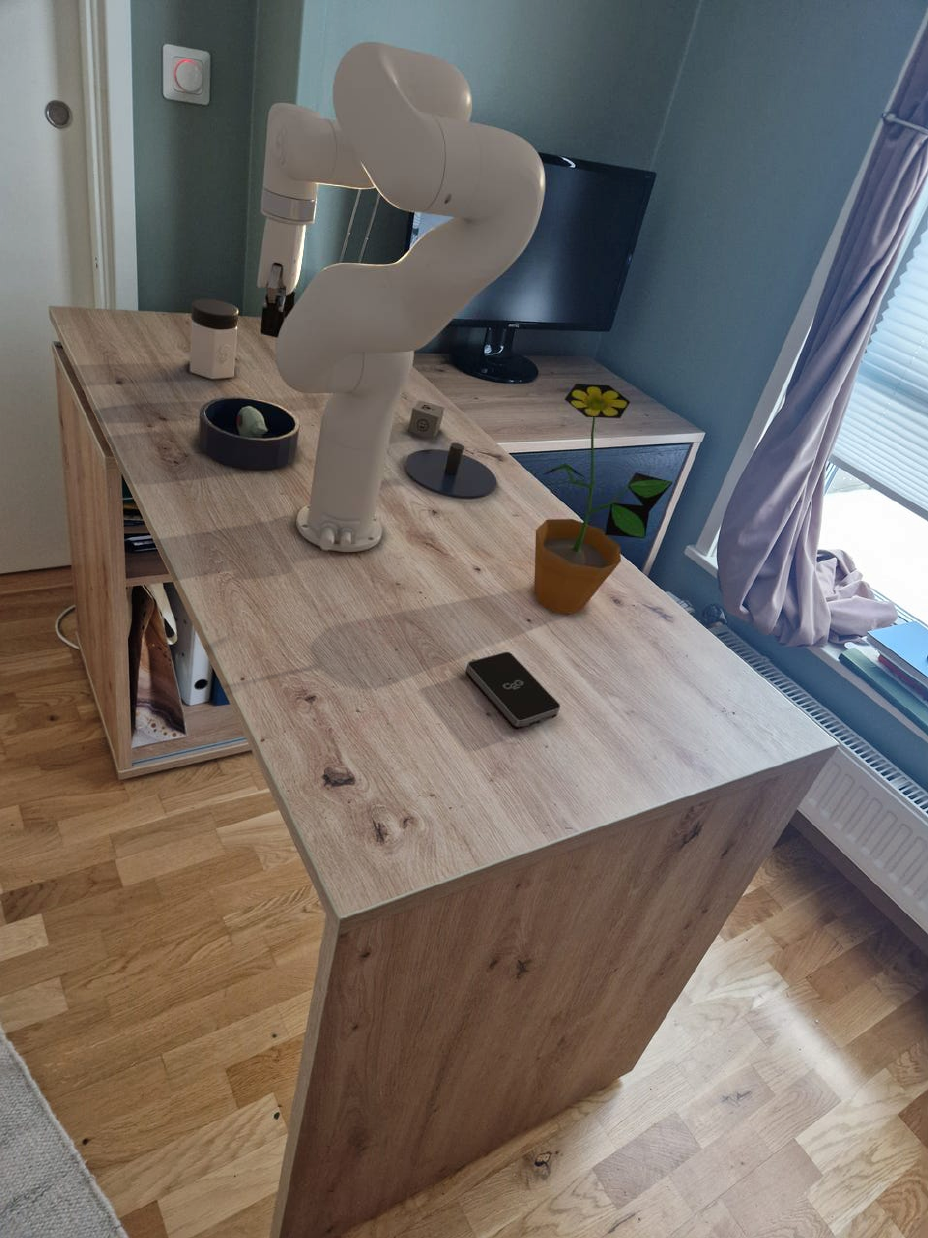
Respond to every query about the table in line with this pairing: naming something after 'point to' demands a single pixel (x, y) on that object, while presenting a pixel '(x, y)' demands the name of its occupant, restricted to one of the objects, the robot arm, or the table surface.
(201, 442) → the tin
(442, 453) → the lid
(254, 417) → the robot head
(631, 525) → the potted plant
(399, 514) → the table surface
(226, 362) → the jar
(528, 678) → the external hard drive
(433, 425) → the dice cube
